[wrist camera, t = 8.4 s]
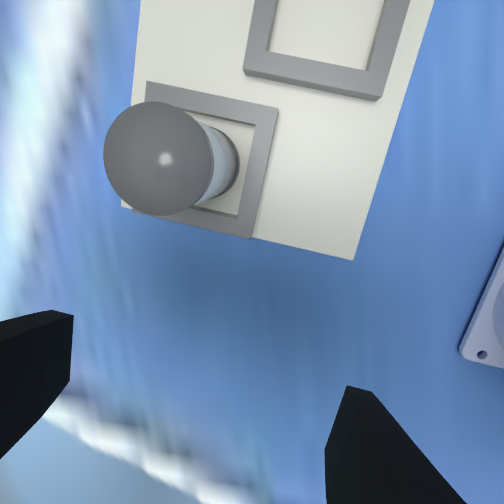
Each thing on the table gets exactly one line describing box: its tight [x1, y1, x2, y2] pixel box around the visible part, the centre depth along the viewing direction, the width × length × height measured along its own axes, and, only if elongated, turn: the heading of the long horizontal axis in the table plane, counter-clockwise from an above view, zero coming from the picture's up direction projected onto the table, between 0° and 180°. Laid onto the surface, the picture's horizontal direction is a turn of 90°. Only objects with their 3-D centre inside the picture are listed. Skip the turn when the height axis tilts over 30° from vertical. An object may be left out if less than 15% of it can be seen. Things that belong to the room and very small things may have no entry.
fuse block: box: [121, 0, 434, 261], centre depth 14 cm, size 12×13×2 cm
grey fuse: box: [103, 101, 240, 216], centre depth 13 cm, size 3×3×6 cm
